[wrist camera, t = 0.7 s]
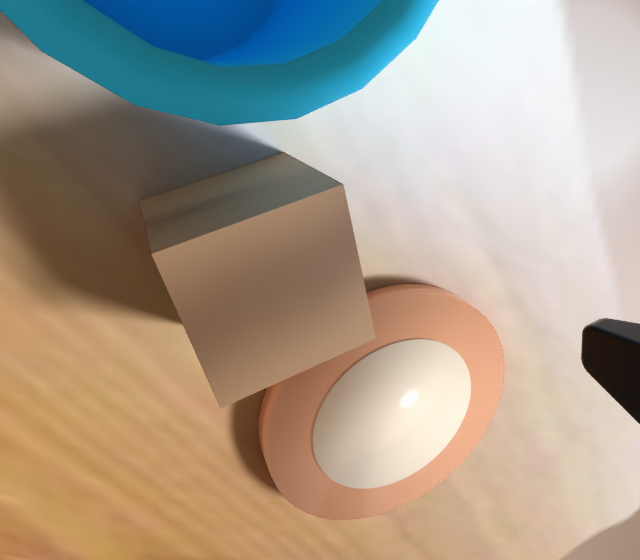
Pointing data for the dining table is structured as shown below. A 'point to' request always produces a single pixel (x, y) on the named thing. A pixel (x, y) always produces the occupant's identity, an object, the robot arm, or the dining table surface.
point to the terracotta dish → (385, 407)
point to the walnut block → (260, 272)
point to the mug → (224, 50)
